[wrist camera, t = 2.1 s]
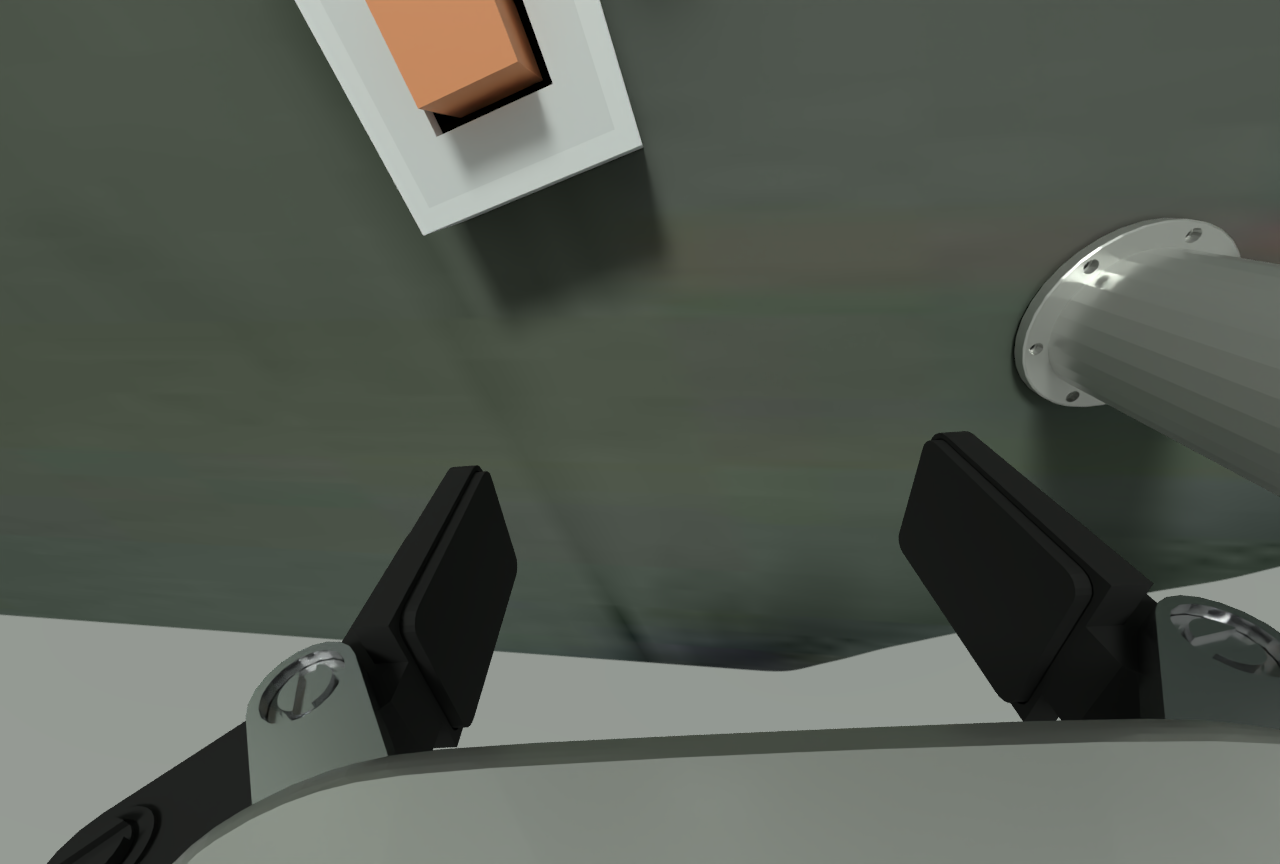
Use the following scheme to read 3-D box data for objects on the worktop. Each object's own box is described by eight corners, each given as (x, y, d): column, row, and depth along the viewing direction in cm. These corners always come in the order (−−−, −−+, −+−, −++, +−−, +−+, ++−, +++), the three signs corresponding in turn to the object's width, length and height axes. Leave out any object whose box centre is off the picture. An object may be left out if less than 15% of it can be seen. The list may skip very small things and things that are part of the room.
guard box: (548, -176, 21) (514, -287, 15) (643, 147, 27) (642, 145, 22) (328, -50, 23) (234, -111, 18) (463, 221, 29) (423, 235, 24)
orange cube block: (497, -44, 20) (457, -98, 16) (542, 79, 22) (518, 61, 18) (408, 3, 21) (347, -36, 17) (460, 117, 23) (418, 108, 19)
